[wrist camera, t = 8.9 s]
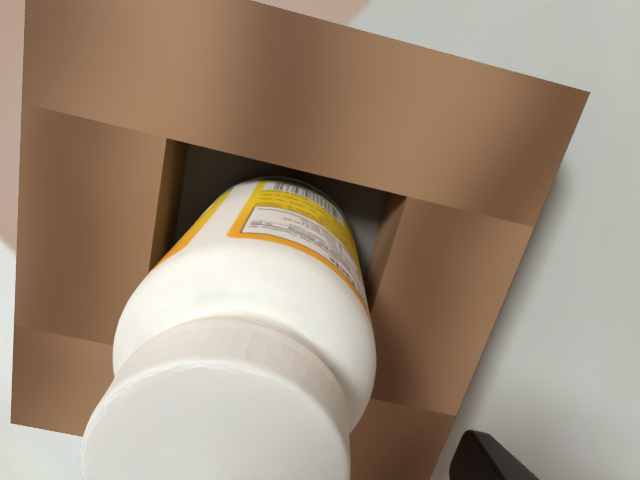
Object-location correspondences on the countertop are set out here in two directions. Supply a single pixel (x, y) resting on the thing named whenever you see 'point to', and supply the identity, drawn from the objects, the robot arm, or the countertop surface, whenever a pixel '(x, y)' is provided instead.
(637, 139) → the countertop surface
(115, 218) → the socket block
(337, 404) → the supplement bottle
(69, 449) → the countertop surface
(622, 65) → the countertop surface
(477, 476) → the robot arm
